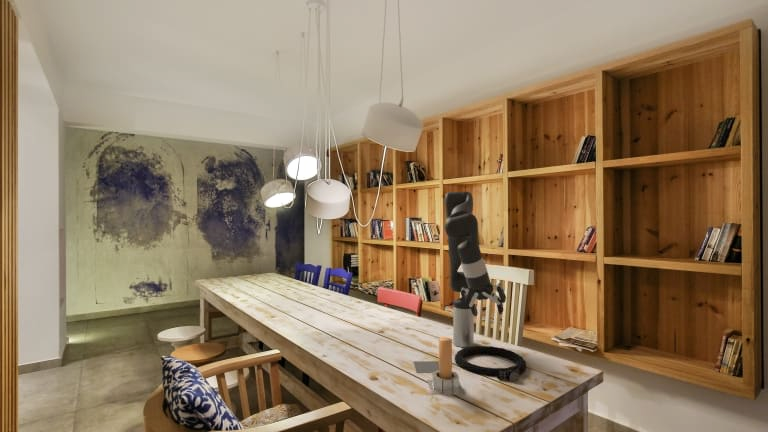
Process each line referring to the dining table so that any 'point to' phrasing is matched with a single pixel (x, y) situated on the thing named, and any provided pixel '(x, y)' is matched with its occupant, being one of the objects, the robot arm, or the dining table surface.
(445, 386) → the collar stand
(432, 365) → the mat
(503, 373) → the cable lock
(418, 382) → the dining table surface
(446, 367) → the tube
